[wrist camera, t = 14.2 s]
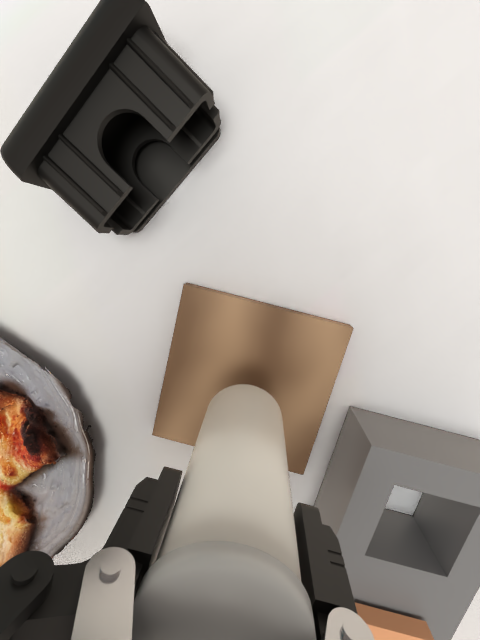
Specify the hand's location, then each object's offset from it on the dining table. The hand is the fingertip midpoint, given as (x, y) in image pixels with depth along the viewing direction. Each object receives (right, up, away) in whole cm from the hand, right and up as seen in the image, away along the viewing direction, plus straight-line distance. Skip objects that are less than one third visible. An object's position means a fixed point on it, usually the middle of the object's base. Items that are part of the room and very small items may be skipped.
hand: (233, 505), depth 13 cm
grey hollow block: (+11, -9, +14) cm, 20 cm away
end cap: (-6, +19, +9) cm, 22 cm away
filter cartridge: (0, +1, +6) cm, 6 cm away
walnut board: (+1, +3, +12) cm, 12 cm away
